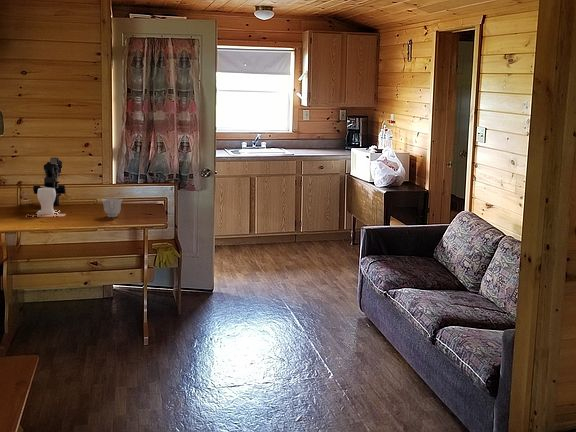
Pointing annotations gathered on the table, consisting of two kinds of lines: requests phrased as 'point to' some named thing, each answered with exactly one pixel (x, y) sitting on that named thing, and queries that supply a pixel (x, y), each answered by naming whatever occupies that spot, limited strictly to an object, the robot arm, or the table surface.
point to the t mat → (49, 214)
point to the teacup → (112, 206)
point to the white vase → (46, 199)
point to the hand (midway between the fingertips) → (48, 200)
